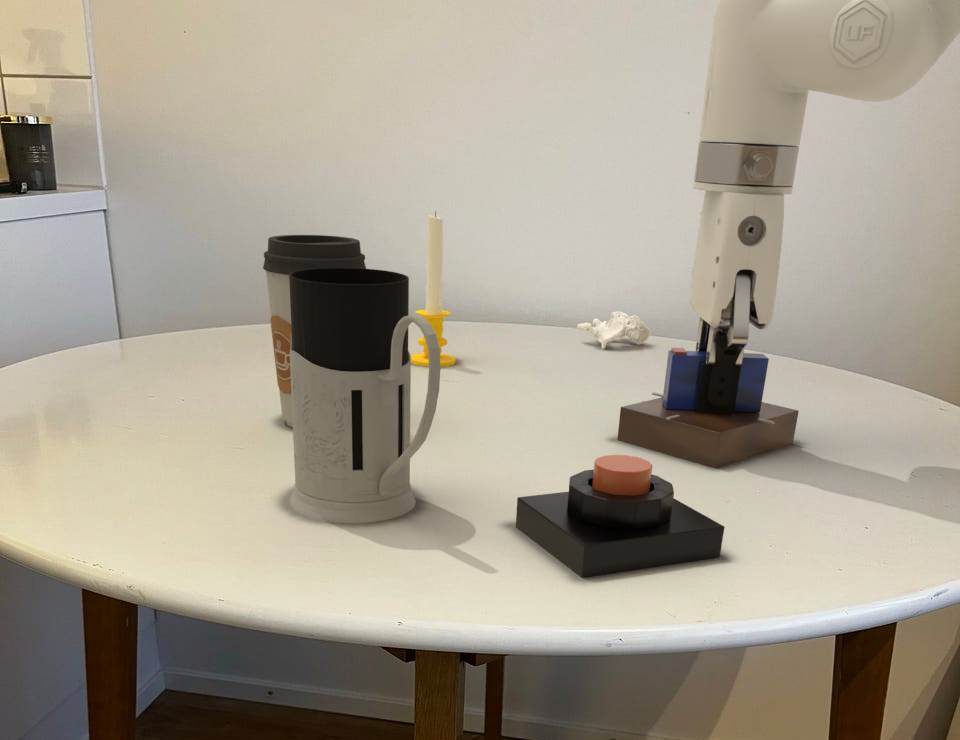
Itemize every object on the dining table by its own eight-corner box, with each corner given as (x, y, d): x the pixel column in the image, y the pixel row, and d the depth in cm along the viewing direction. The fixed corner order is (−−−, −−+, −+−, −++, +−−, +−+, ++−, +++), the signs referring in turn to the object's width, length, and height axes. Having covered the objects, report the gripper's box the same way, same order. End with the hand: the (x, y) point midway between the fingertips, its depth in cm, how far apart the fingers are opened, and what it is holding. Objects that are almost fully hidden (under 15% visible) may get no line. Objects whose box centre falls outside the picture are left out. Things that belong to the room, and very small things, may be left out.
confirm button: (629, 478, 66) (632, 452, 65) (660, 495, 63) (663, 468, 63) (581, 484, 65) (584, 457, 64) (610, 501, 62) (613, 474, 61)
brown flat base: (688, 417, 96) (693, 383, 94) (804, 447, 88) (811, 411, 87) (606, 438, 88) (609, 402, 86) (725, 473, 80) (731, 434, 79)
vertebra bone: (621, 307, 129) (660, 310, 124) (620, 342, 130) (657, 346, 125) (574, 310, 124) (612, 314, 119) (573, 346, 126) (610, 351, 121)
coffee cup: (253, 419, 89) (242, 235, 82) (334, 407, 94) (330, 232, 87) (303, 442, 83) (296, 247, 76) (386, 427, 88) (386, 243, 81)
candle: (456, 358, 115) (461, 210, 108) (454, 368, 110) (459, 213, 103) (410, 356, 115) (412, 207, 108) (406, 366, 110) (408, 211, 103)
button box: (642, 512, 71) (649, 457, 69) (719, 559, 64) (729, 498, 62) (515, 528, 67) (518, 470, 66) (581, 580, 60) (587, 516, 58)
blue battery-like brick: (754, 406, 87) (763, 350, 85) (760, 412, 86) (769, 355, 84) (662, 403, 87) (668, 347, 85) (665, 409, 86) (673, 351, 83)
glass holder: (374, 475, 76) (372, 264, 69) (488, 534, 66) (499, 294, 59) (267, 494, 71) (254, 269, 65) (372, 561, 61) (370, 303, 55)
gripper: (825, 178, 71) (779, 435, 80) (765, 168, 85) (732, 388, 94) (719, 173, 71) (684, 432, 79) (677, 164, 85) (651, 385, 94)
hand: (710, 406), depth 86 cm, fingers closed on blue battery-like brick, 2 cm apart
